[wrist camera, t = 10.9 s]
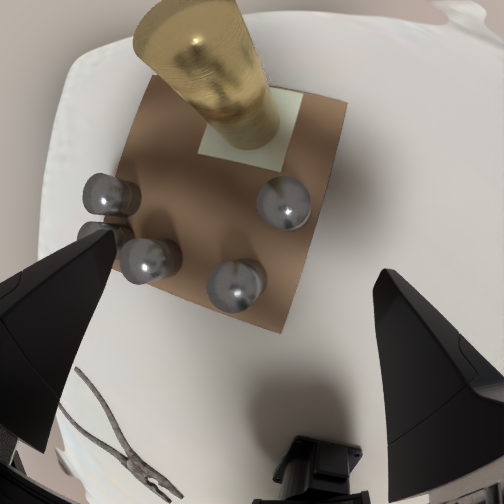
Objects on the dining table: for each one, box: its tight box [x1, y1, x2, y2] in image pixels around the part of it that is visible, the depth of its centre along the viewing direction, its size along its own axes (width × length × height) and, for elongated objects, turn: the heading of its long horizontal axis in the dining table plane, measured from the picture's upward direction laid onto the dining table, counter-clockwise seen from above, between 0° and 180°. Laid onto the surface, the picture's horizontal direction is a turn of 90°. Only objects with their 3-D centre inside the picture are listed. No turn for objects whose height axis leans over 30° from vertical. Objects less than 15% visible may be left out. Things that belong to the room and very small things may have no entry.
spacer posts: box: [77, 173, 312, 313], centre depth 20 cm, size 9×16×4 cm, turn 73°
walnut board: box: [104, 75, 348, 334], centre depth 22 cm, size 18×17×1 cm
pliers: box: [58, 367, 184, 503], centre depth 26 cm, size 10×1×20 cm
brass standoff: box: [133, 0, 280, 150], centre depth 14 cm, size 4×4×12 cm
